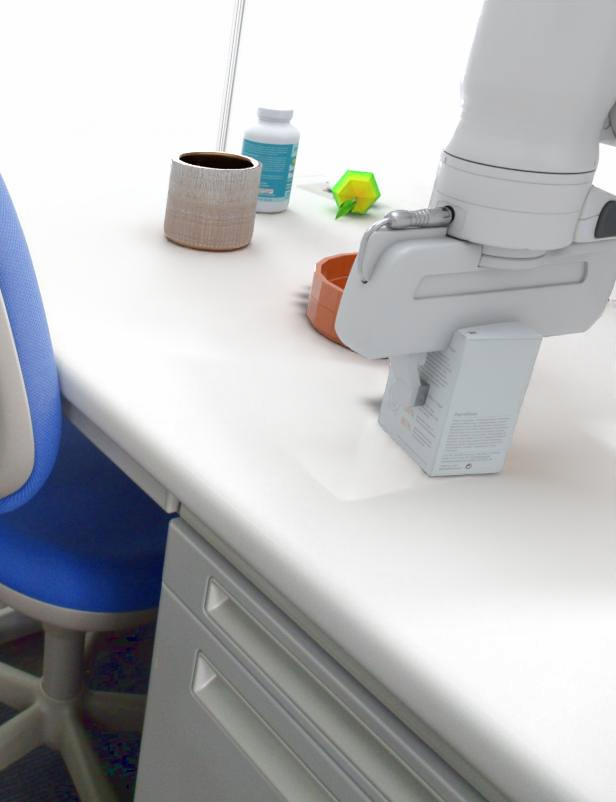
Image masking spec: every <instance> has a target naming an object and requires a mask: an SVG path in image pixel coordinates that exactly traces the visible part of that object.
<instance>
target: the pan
mask: <svg viewBox="0 0 616 802" xmlns="http://www.w3.org/2000/svg"><path fill="white" fill-rule="evenodd" d="M358 253H359V251H357V252H356V251H355V252H344V253H343V252H342V253H337V254H333V255H329V256H326V257H323V258H322V259H320V260H319V261H318V262H316V263H315V264H314V268H313V274H312V279H311V285H310V289H309V296H308V300H307V307H306V316H307V318H309V321H310V324H311V325H312V326H313V328H314V327H315V328H316V329H317V330H318V331H319V332H318V331H317V330H316V329H315V328H314V329H315V330H316V331H317V332H318V333H320V334H321V333H322V334H323V335H322V334H321V335H322V336H323V337H325V338H327V339H329V340H330V341H332V342H334V341H335V342H334V343H336V344H338V343H339V345H341V346H343V347H345V346H346V345H345V344H344V343H342V342H341V340H340V339H339V337H338V335H337V333H336V331H335V321H336V316H337V312H338V309H339V305H340V302H341V298H342V295H343V292H344V289H345V286H346V283H347V280H348V277H349V274H350V272H351V269H352V266H353V264H354V261H355V259H356V257H357V255H358ZM346 348H348V346H346ZM386 359H389V358H388V357H387V358H386Z"/></svg>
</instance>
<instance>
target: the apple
mask: <svg viewBox="0 0 616 802" xmlns="http://www.w3.org/2000/svg"><path fill="white" fill-rule="evenodd" d="M330 190H331V194H332V196H333V198H334V201H335V204H336V206H337V209H338V211H337V213H336V215H335V218H334V221H336V220H338V219H340V218H341V217H344V216H346V215H348V214H354V215H362V216H365V215H366V213H368V211H369V210H370V209H371V208H372V207H373V205H374V204H375V203H376V202H377V201H378V200H379V199H380V198H381V196H382V194H381V192H380V188H379V186H378V183H377V180H376V177H375V174H374V172H371V171H370V172H369V171H362V170H352V169H347V170H346V171H345V172H344V174H343V175H342V176H341V177H340V178H339V179H338V180H337V182H336V183H335V184H334V185H333V187H332V188H331V189H330Z"/></svg>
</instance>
